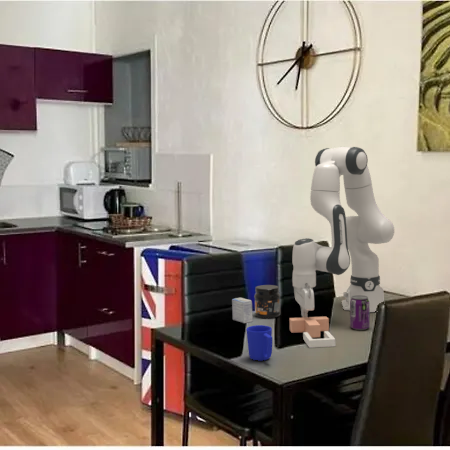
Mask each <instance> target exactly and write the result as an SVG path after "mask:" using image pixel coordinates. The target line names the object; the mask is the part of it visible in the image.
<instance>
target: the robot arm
mask: <svg viewBox="0 0 450 450" xmlns="http://www.w3.org/2000/svg"><path fill="white" fill-rule="evenodd" d="M314 166H315V168H314V171H313V175H312V179H311V187H310V197H309V198H310V205H311V207H312V208H313V210H314V211H315V212H316V213H317V214H319V215H321V216H322V217H324V219H326V220H327V222H328V223H329V224H330V229H331V230H330V232H331V246H325V245H321V244H318V243H317V242H315V241H314V239H312V238H302V239H297V240H296V241H295V242H294V243H293V246H292V247H293V248H292V256H291V257H292V260H291V261H292V265H293V267H292V268H293V270H292V278H291V282H292V287H293V293H294V298H295V301H296V302H297V304H299V306H300V311H301V314H300V315H301V318H303V317H309V316H308V313H309V311H314V310H315V293H314V289H313V288H315V287H316V286H317V273H316V271H320V272H326V273H329V274H332V275H335V276H339V275H342V274H344V273H345V272H347V270H348V269H349V267H350V264H351V275H350V281H349V283H350V284H349V286H348V288H347V289H346V291H343V294H342V295H343V298H345V299H342V300H341V302H342V303H341V307H342V306H343V307H342V309H344V311H350V301H351V297H352V296H355V295H363V296H367V297H368V300H369V308H370V313H374V312H375V311H376V307H377V305H378V304H379V303H381V302H383V301H384V302H385V297H384V296H385V294H384V293H385V292H384V288H382V287H381V285H380V284H381V277H380V273H379V272H380V271H379V268H380V264H379V263H380V261H379V257H378V255H377V253H375V252H374V251H373V250H371V248H370V246H369V244H374V245H377V244H378V245H380V244H385V243H389V242H391V241H392V239H393V238H394V235H395V227H394V224H393V221H391V220H390V219H389V218H388V217H386V216H385V215H384V214H383V212H382V211H381V210H380V208H379V206H378V205H377V204H378V203H377V202H376V199H375V196H374V189H373V183H372V178H371V177H372V176H371V174H370V170H369V167H368V155H367V153H366V152H365V150H364V149H363V148H361V147H358V146H338V147H331V148H329V147H326V148H323V149H320V150H319V151H318V152H317V153H316V156H315V159H314ZM341 176H343V177H342V178H343V185H344V186H343V187H344V194H345V201H346V204H347V206H348V208H350V209H351V210H352V211H354V212H355V213H356V215H350V216H346V211H345V209H344V207H343V206H342V204H341V199H340V198H341V197H340V191H341V190H340V189H341V182H340V181H341V180H340V177H341ZM375 313H376V312H375Z"/></svg>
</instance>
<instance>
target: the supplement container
mask: <svg viewBox="0 0 450 450" xmlns="http://www.w3.org/2000/svg"><path fill="white" fill-rule="evenodd" d="M279 292H280V287H279V286H278V285H274V284H263V285H257V286H255V293H254V296H253V298H254V315H255V317H256V318H259V317H260V318H259V319H266V318H268V319H274V318H275V317H276V318H278V317H280V315H281V294H280V293H279Z"/></svg>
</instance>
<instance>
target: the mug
mask: <svg viewBox="0 0 450 450" xmlns="http://www.w3.org/2000/svg"><path fill="white" fill-rule="evenodd" d="M272 330H273V329H272V327H271V326H269V325H265V324H263V325H262V324H261V325H260V324H259V325H256V324H255V325H251V326H248V327H247V328H246V339H247V348H248V349H247V351H248V356H249V359H251V360H252V359H253V360H252V361H255V360H258V362H263V360H264V361H267V360H269V359H271V357H272V353H273V336H272V334H273V331H272Z"/></svg>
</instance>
